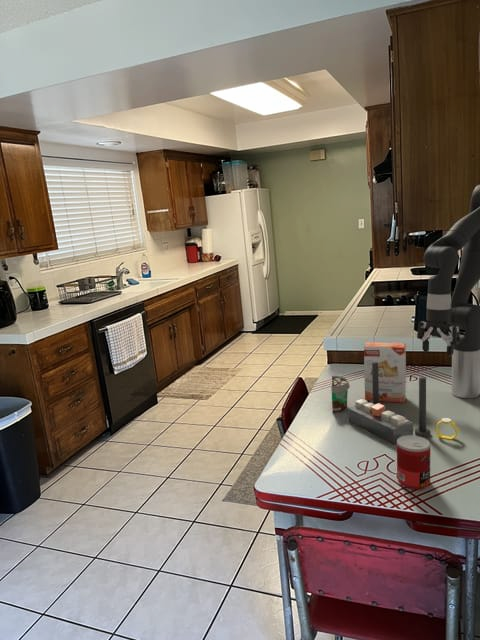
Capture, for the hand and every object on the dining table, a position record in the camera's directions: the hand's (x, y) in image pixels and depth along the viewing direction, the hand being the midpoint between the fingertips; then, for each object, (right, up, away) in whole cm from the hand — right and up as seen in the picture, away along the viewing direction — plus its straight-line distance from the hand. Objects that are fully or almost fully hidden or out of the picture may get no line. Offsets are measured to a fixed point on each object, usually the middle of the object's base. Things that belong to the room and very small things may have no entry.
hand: (437, 353), depth 163 cm
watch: (-5, -24, -20) cm, 32 cm away
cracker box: (-14, -18, +12) cm, 26 cm away
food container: (-31, -20, +8) cm, 38 cm away
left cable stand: (-20, -20, +1) cm, 29 cm away
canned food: (-23, -30, -41) cm, 55 cm away
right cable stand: (-11, -23, -16) cm, 31 cm away
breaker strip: (-23, -23, -11) cm, 34 cm away
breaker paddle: (-23, -18, -12) cm, 32 cm away
